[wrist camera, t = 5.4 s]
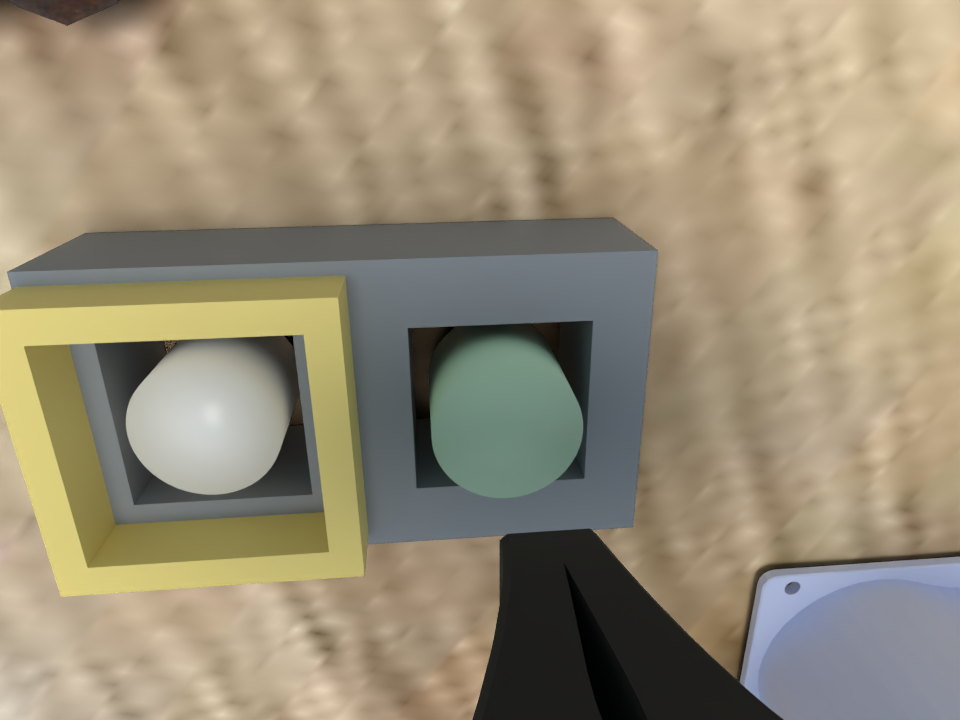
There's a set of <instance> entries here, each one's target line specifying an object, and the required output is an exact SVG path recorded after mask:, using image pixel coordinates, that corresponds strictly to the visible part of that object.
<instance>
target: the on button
mask: <svg viewBox="0 0 960 720" xmlns="http://www.w3.org/2000/svg"><path fill="white" fill-rule="evenodd" d="M429 397H430V418H431V438H432V447H433V450H434V454H435V456H436V459H437V461H438V463H439V465H440V466H441V468H442V469H443V471H444V472H445V473H446V474H447V476H448V477H449V478H450V479H452V480H453V481H454V482H455V483H456V484H458V485H459V486H461V487H462V488H464V489H466V490H468V491H470V492H472V493H475V494H478V495H481V496H486V497H492V498H513V497H519V496H524V495H528V494H530V493H533V492H536V491H538V490H540V489H542V488H544V487H546V486H548V485H549V484H551V483H552V482H554V481H555V480H556V479H557V478H559V477H560V476H561V475H562V474H563V473H564V472H565V471H566V470H567V468H568V467H569V466H570V464H571V463H572V462H573V460H574V458H575V456H576V455H577V452H578V450H579V448H580V444H581V441H582V435H583V418H582V412H581V409H580V406H579V403H578V401H577V399H576V397H575V395H574V393H573V391H572V389H571V387H570V385H569V383H568V381H567V379H566V377H565V375H564V373H563V371H562V369H561V367H560V365H559V363H558V361H557V359H556V357H555V355H554V353H553V351H552V349H551V347H550V345H549V343H548V342H547V340H546V339H545V337H544V336H543V335H542V334H541V333H540V332H539V331H538V330H537V329H536V328H534V327H533V326H532V325H530V324H528V323H522V324H497V325H473V326H457V327H455V328H454V329H452V330H451V331H450V332H449V333H448V334H447V335H446V336H445V337H444V338H443V339H442V340H441V341H440V343H439V344H438V346H437V347H436V349H435V351H434V353H433V356H432V359H431V362H430V367H429Z"/></svg>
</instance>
